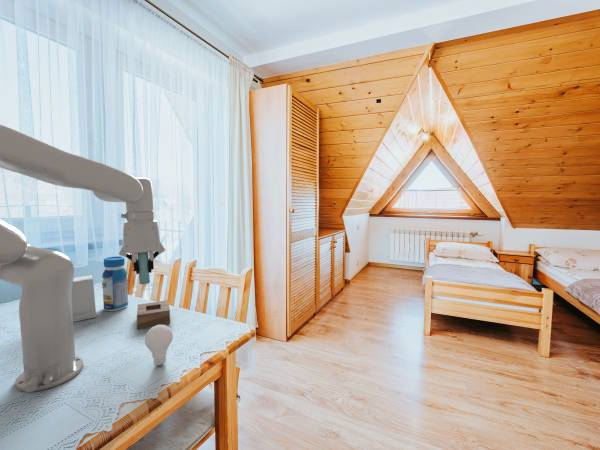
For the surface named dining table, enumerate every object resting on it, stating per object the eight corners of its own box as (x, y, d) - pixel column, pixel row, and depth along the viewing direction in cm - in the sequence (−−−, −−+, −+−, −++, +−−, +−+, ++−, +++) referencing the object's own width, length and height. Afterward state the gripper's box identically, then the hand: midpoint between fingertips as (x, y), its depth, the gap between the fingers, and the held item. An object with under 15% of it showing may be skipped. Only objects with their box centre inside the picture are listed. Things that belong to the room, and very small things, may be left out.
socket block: (170, 323, 99) (169, 310, 99) (137, 329, 95) (136, 315, 94) (168, 313, 108) (168, 300, 108) (138, 317, 103) (137, 304, 103)
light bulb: (166, 355, 80) (165, 318, 79) (178, 364, 76) (177, 325, 75) (141, 365, 75) (139, 326, 74) (152, 376, 71) (151, 334, 70)
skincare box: (95, 312, 107) (93, 274, 105) (96, 318, 102) (94, 278, 101) (66, 318, 102) (64, 277, 100) (66, 324, 97) (63, 282, 95)
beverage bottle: (126, 310, 109) (124, 259, 107) (100, 313, 106) (97, 261, 104) (130, 302, 117) (128, 255, 115) (106, 304, 114) (104, 256, 112)
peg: (149, 283, 92) (147, 247, 91) (139, 284, 91) (136, 248, 89) (149, 280, 95) (147, 245, 93) (139, 282, 94) (137, 246, 92)
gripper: (108, 219, 83) (113, 279, 86) (169, 217, 90) (171, 272, 93) (111, 216, 90) (116, 272, 92) (168, 214, 97) (170, 266, 100)
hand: (144, 271), depth 93 cm, fingers closed on peg, 3 cm apart
